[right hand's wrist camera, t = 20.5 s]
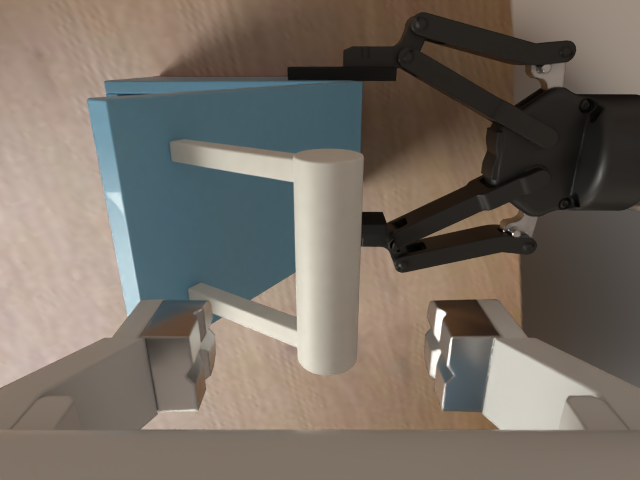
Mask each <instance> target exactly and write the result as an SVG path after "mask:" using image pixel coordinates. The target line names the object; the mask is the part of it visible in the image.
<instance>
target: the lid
mask: <svg viewBox="0 0 640 480" xmlns="http://www.w3.org/2000/svg"><path fill="white" fill-rule="evenodd" d="M362 90H363V82H361V81H341V82H326V83H311V84H295V85H280V86H265V87H250V88H235V89H220V90H204V91H189V92H174V93H159V94H144V95H129V96H114V97H98V98H89V99H87V103H88V109H89V114H90V119H91V125H92V130H93V135H94V141H95V146H96V151H97V157H98V162H99V167H100V173H101V178H102V183H103V189H104V194H105V199H106V205H107V210H108V215H109V221H110V226H111V231H112V237H113V242H114V247H115V253H116V258H117V263H118V269H119V274H120V279H121V284H122V290H123V295H124V300H125V306H126V311H127V316H129V315H130V313H131V312H132V311H133V310H134V308H135V307H136V306H137V304H138V303H139V302H140V301H141V300H150V299H164V300H209V302H210V303H211V306H212V314H213V319H212V321H211V324H212V323H214V322H215V321H217V320H219V319H220V318H222V317H223V318H225V319H228V320H230V321H233V322H235V323H238V324H240V325H243V326H245V327H247V328H250V329H252V330H255V331H257V332H260V333H262V334H265V335H267V336H270V337H272V338H274V339H277V340H279V341H282V342H284V343H287V344H289V345H292V346H294V347H297V348H298V360H299V362H300V364H301V365H302V367H304V368H305V369H306V370H308V371H310V372H312V373H315V374H319V375H336V374H340V373H343V372H345V371H347V370H349V369H350V368H351V367H352V366H353V365H354V364H355V362H356V359H357V335H358V307H359V279H360V252H361V224H362V196H363V168H364V156H363V154H361V153H360V151H361V121H362ZM295 272H296V306H297V317H294V316H292V315H289V314H286V313H284V312H281V311H278V310H275V309H273V308H270V307H267V306H264V305H262V304H259V303H256V302H253V301H251V299H253V298H254V297H256V296H257V295H259V294H261V293H262V292H264V291H266V290H267V289H269V288H270V287H272V286H274V285H275V284H277V283H279V282H280V281H282V280H283V279H285V278H287V277H288V276H290V275H292V274H293V273H295Z"/></svg>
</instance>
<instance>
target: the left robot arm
mask: <svg viewBox="0 0 640 480" xmlns="http://www.w3.org/2000/svg"><path fill="white" fill-rule="evenodd" d="M424 41H428V42H431V43H435V44H439V45H442V46H446V47H449V48H453V49H457V50H460V51H464V52H468V53H471V54H475V55H478V56H482V57H486V58H489V59H493V60H497V61H500V62H504V63H508V64H513V65H525V72H526V74H527V75H528V76H529V77H531V78H536V79H538V80H539V81H540V83H541V88H540V89H539V90H537V91H536V92H534V93H533V94H531V95H530V96H528V97H527V98H525V99H524V100H522V101H521V102H519V103H518V104H516V105H515V106H513V105H512V104H510V103H508V102H506V101H504V100H502V99H500V98H498V97H496V96H494V95H493V94H491V93H489V92H488V91H486V90H484V89H483V88H481V87H479V86H478V85H476V84H474V83H472V82H471V81H469V80H467V79H466V78H464V77H462V76H461V75H459V74H457V73H456V72H454V71H452V70H450V69H449V68H447V67H445V66H444V65H442V64H440V63H439V62H437V61H435V60H434V59H432V58H430V57H428V56H427V55H425V54H423V53H422V52H420V51H421V48H422V46H423V43H424ZM575 52H576V46H575V44H574V43H573V42H571V41H556V42H546V43H532V42H529V41H525V40H521V39H518V38H514V37H511V36H507V35H504V34H500V33H497V32H493V31H489V30H486V29H482V28H479V27H475V26H472V25H468V24H464V23H461V22H457V21H454V20H450V19H447V18H443V17H439V16H436V15H432V14H429V13H424V12H421V13H419V14H416V15H415V16H413V17H411V18H409V19H408V20H407V22H406V24H405V29H404V32H403V34H402V37H401V39H400V41H399V42H398V43H397V44H396V45H395V46H392V47H350V48H348V49H346V50H344V51H343V67H288V80H353V81H396V71H397V68H400V69H402V70H404V71H405V72H407V73H409V74H411V75H412V76H414V77H416V78H418V79H419V80H421V81H423V82H424V83H426V84H428V85H430V86H431V87H433V88H435V89H437V90H438V91H440V92H442V93H443V94H445V95H447V96H449V97H450V98H452V99H454V100H456V101H457V102H459V103H461V104H462V105H464V106H466V107H468V108H469V109H471V110H473V111H474V112H476V113H477V114H479V115H480V116H482V117H484V118H486V119H487V120H489V121H491V122H493V123H492V125H491V127H490V128H487V134H486V144H487V153H486V155H485V157H484V160H483V163H482V170H481V173H482V174H484V175H482V176H480V177H478V178H476V179H474V180H472V181H470V182H469V183H468V184H467V185H466V186H464V187H462V188H460V189H458V190H456V191H454V192H452V193H450V194H448V195H445V196H443V197H441V198H439V199H437V200H435V201H433V202H431V203H428V204H426V205H424V206H422V207H420V208H418V209H416V210H414V211H411V212H409V213H407V214H405V215H403V216H401V217H399V218H397V219H394V220H392V221H390V222H388V223H386V220H385V217H384V215H383V212H362V224H361V246H362V247H384V248H386V249H388V250H389V252H390V254H391V257H392V260H393V263H394V266H395V268H396V270H397V271H398V272H401V273H403V272H409V271H414V270H419V269H423V268H428V267H433V266H438V265H443V264H447V263H452V262H457V261H462V260H466V259H471V258H476V257H481V256H485V255H490V254H495V253H500V252H507V253H516V254H525V255H526V254H531V253H533V252H534V251H535V249H536V247H537V244H536V241H534V240H533V239H532V235H533V231H534V228H535V225H536V221H537V218H538V217H539V216H542V215H544V214H546V213H549V212H551V211H555V210H618V211H619V210H625V209H629V210H634V211H640V95H632V94H629V95H628V94H575V93H572V92H571V91H569V90H568V89H566V88H564V78H565V67H566V62H568V61H570V60H571V59H572V58H573V57H574V55H575ZM508 202H510V203H511V204H513V205H514V206H515V207H516V208H518V209H519V212H518V214H517V215H516V216H515V217H513V218H507V219H503V220H502V221H501V222H500V225H485V226H480V227H475V228H470V229H466V230H461V231H456V232H452V233H447V234H443V235H438V236H433V237H429V238H424V237H426V236H428V235H430V234H432V233H435V232H437V231H439V230H441V229H443V228H446V227H448V226H450V225H452V224H454V223H457V222H459V221H461V220H463V219H465V218H467V217H470V216H472V215H474V214H476V213H478V212H481V211H484V210H492V209H495V208H497V207H499V206H501V205H504V204H506V203H508ZM421 238H424V239H421ZM419 239H420V240H419Z"/></svg>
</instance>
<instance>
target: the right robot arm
mask: <svg viewBox="0 0 640 480" xmlns="http://www.w3.org/2000/svg"><path fill="white" fill-rule="evenodd" d="M212 319H213V314H212V306H211V303H210V302H209V300H164V299H150V300H141V301H140V302H139V303H138V304H137V306H136V307H135V308H134V310H133V311H132V312H131V313H130V315H129V316H128V317H127V319H126V320H125V321H124V323H123V324H122V325H121V326H120V328H119V329H118V330H117V332H116V333H115V334H114V336H113V337H112V338H103V339H101V340H99V341H97V342H95V343H93V344H91V345H89V346H87V347H85V348H83V349H81V350H79V351H76V352H74V353H72V354H70V355H68V356H66V357H64V358H62V359H60V360H58V361H56V362H54V363H51V364H49V365H47V366H45V367H43V368H41V369H39V370H37V371H35V372H33V373H31V374H29V375H27V376H24V377H22V378H20V379H18V380H16V381H14V382H12V383H10V384H8V385H6V386H4V387H2V388H0V480H640V388H638V387H636V386H634V385H632V384H630V383H628V382H626V381H624V380H621V379H619V378H617V377H615V376H613V375H611V374H609V373H607V372H605V371H603V370H601V369H599V368H597V367H595V366H592V365H590V364H588V363H586V362H584V361H582V360H580V359H578V358H576V357H574V356H572V355H570V354H568V353H566V352H563V351H561V350H559V349H557V348H555V347H553V346H551V345H549V344H547V343H545V342H543V341H541V340H539V339H537V338H528V337H527V336H526V334H525V333H524V332H523V330H522V329H521V328H520V327H519V325H518V324H517V323H516V321H515V320H514V319H513V317H512V316H511V315H510V314H509V312H508V311H507V310H506V308H505V307H504V306H503V305H502V303H501V302H500V301H499V300H497V299H485V300H438V301H430V303H429V307H428V313H427V319H428V321H429V324H430V326H431V329H430V330H429V331H428V332H427V333H426V334H425V345H424V351H425V362H426V367H427V370H428V374H429V376H431V377H432V378H434V379H435V383H434V391H435V394H436V396H437V399H438V402H439V405H440V407H441V410H442V411H462V412H482V414H483V415H484V416H485V417H486V418H487V419H489V420H490V421H491V422H492V423H493V424H494V425H495V426H497V427H498V428H499V429H500V430H140V429H141V428H143V427H144V426H145V425H146V424H147V423H148V422H149V421H150V420H152V419H153V418H154V417H155V416H156V415H157V414H158V413H157V412H178V411H198V410H199V408H200V405H201V402H202V399H203V396H204V394H205V391H206V384H205V379H206V378H208V377H209V376H211V373H212V370H213V367H214V361H215V355H216V343H215V334H214V333H213V332H212V331H211V330H210V329H209V326H210V324H211V321H212Z"/></svg>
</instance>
